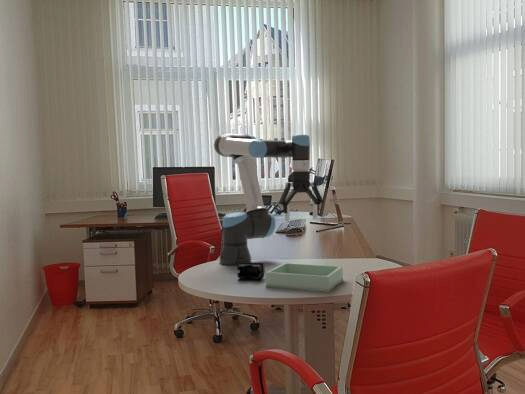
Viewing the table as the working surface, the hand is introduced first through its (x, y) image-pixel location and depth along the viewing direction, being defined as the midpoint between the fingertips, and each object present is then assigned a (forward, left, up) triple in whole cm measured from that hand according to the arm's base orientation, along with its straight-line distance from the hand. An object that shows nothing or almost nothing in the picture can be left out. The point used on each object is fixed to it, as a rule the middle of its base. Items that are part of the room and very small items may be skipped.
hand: (301, 220), depth 219 cm
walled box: (+9, -23, -22) cm, 33 cm away
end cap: (-14, -23, -22) cm, 35 cm away
